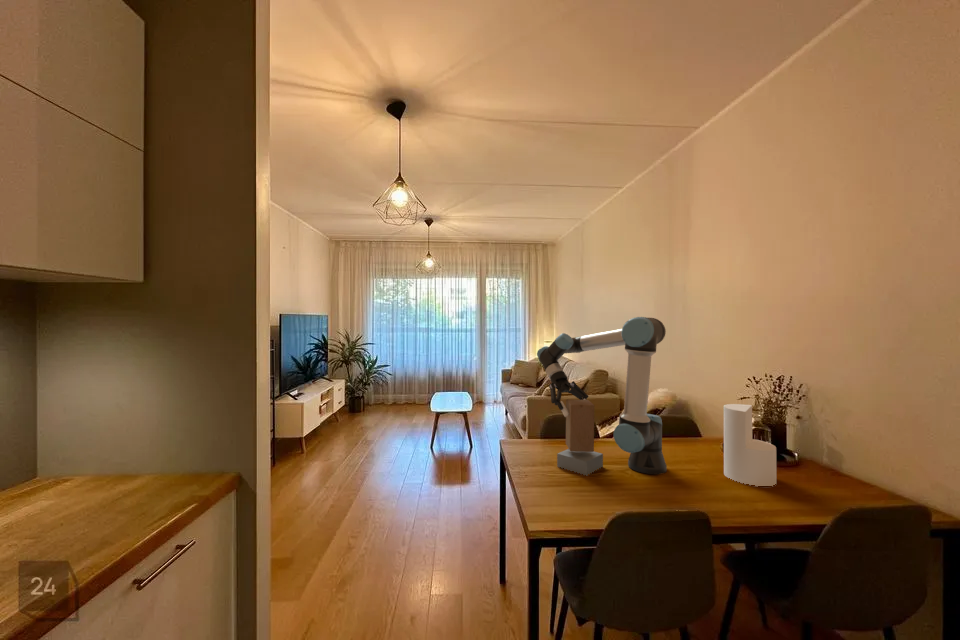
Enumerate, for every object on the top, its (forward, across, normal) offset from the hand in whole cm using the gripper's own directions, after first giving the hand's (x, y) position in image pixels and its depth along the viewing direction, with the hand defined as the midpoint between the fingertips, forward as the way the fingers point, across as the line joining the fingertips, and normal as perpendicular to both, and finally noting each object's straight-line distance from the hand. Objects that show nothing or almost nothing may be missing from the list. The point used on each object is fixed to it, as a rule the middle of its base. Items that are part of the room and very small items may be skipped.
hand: (578, 414), depth 164 cm
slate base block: (+17, 0, -16) cm, 23 cm away
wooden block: (+11, 0, -10) cm, 15 cm away
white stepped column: (+45, -53, +13) cm, 71 cm away
